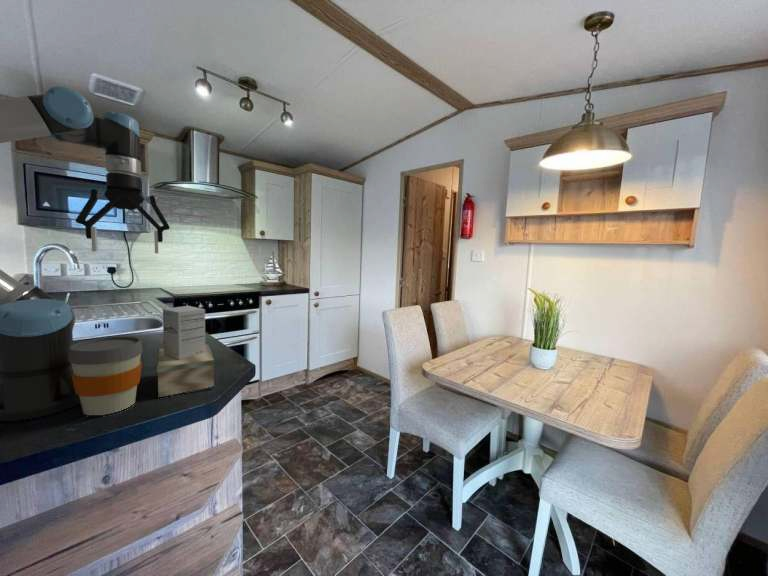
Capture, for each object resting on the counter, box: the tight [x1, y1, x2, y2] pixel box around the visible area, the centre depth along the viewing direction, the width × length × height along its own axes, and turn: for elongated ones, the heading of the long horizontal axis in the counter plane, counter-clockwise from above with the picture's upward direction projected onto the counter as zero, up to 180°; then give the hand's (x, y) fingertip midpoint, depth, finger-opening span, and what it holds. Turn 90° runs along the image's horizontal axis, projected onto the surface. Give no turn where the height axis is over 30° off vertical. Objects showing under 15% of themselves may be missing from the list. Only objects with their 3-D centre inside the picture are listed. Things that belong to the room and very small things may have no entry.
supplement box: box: [162, 305, 206, 360], centre depth 86 cm, size 7×7×13 cm
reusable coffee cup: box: [69, 335, 144, 415], centre depth 72 cm, size 13×13×15 cm
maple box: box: [156, 343, 215, 398], centre depth 87 cm, size 12×16×8 cm
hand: (127, 252), depth 90 cm, fingers open, 13 cm apart
